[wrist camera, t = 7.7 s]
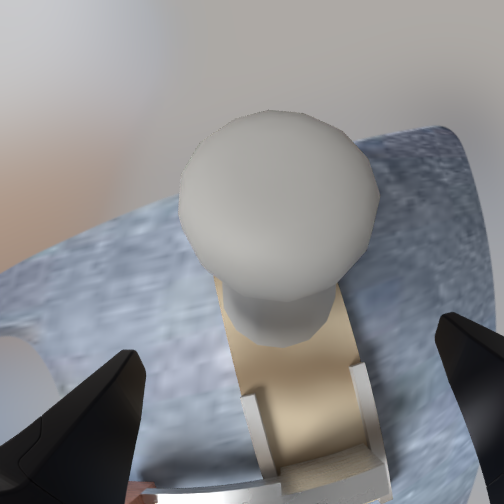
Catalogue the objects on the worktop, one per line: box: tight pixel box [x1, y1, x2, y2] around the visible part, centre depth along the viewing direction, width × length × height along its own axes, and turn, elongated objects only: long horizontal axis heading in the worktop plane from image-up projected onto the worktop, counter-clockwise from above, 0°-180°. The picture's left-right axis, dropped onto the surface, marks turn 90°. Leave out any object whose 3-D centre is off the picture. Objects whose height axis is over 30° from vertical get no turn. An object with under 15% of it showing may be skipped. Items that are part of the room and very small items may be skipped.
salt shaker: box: [178, 110, 380, 348], centre depth 11 cm, size 6×6×13 cm
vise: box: [213, 275, 393, 504], centre depth 14 cm, size 20×7×5 cm, turn 14°
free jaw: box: [125, 443, 390, 504], centre depth 12 cm, size 2×16×4 cm, turn 104°
